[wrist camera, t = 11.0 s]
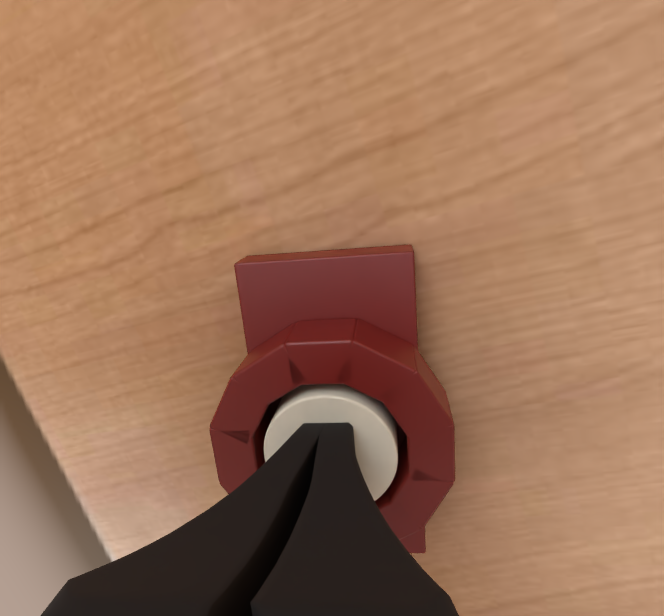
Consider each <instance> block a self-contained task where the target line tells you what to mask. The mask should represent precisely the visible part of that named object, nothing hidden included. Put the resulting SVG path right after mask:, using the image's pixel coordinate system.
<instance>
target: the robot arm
mask: <svg viewBox="0 0 664 616" xmlns="http://www.w3.org/2000/svg"><path fill="white" fill-rule="evenodd" d="M41 616H459V615H458V613H457V611H456V609H455V607H454V604H453V602H452V600H451V598H450V596H449V595H448V594H447V593H446V592H445V591H444V590H443V589H442V588H441V587H440V586H439V585H438V584H437V583H436V582H435V581H434V580H433V579H432V578H431V577H430V576H429V575H428V574H427V573H426V572H425V571H424V570H423V569H422V567H421V566H420V565H419V564H418V563H417V562H416V561H415V559H414V558H413V557H412V556H411V555H410V554H409V552H408V551H407V549H406V548H405V547H404V545H403V544H402V543H401V541H400V540H399V539H398V537H397V536H396V535H395V533H394V532H393V531H392V529H391V528H390V526H389V525H388V523H387V521H386V520H385V518H384V517H383V515H382V513H381V512H380V510H379V508H378V506H377V505H376V503H375V501H374V499H373V497H372V495H371V493H370V491H369V489H368V486H367V484H366V482H365V480H364V477H363V475H362V472H361V470H360V467H359V464H358V461H357V458H356V453H355V441H354V430H353V426H352V425H351V424H350V423H349V422H342V423H303V424H302V425H301V426H300V427H299V428H298V429H297V430H296V431H295V432H294V433H293V434H292V435H291V436H290V438H289V439H288V440H287V441H286V442H285V443H284V444H283V445H282V446H281V447H280V448H279V449H278V450H277V451H276V452H275V453H274V454H273V455H272V456H271V457H270V458H269V459H268V460H267V461H266V462H265V463H264V464H263V465H262V466H261V467H260V468H259V469H258V470H257V471H256V472H254V473H253V474H252V475H251V476H250V477H249V478H248V479H247V480H246V481H244V482H243V483H242V484H241V485H240V486H239V487H237V488H236V489H235V490H234V491H232V492H231V493H230V494H229V495H227V496H226V497H225V498H223V499H222V500H221V501H219V502H218V503H216V504H215V505H214V506H212V507H211V508H210V509H208V510H207V511H205V512H204V513H202V514H200V515H199V516H197V517H196V518H194V519H192V520H191V521H189V522H188V523H186V524H184V525H183V526H181V527H180V528H178V529H176V530H175V531H173V532H171V533H170V534H168V535H166V536H164V537H162V538H160V539H159V540H157V541H155V542H153V543H151V544H149V545H147V546H145V547H143V548H141V549H139V550H137V551H135V552H133V553H131V554H129V555H127V556H125V557H122V558H120V559H118V560H116V561H113V562H111V563H109V564H106V565H104V566H101V567H99V568H97V569H94V570H92V571H90V572H87V573H85V574H82V575H80V576H77V577H75V578H72V579H70V580H68V581H67V583H66V584H65V585H64V586H63V587H62V589H61V590H60V591H59V593H58V594H57V595H56V596H55V598H54V599H53V601H52V602H51V603H50V604H49V606H48V607H47V608H46V610H45V611H44V612H43V613H42V615H41Z"/></svg>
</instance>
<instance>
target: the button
mask: <svg viewBox="0 0 664 616" xmlns="http://www.w3.org/2000/svg"><path fill="white" fill-rule="evenodd" d="M342 422H349V423H350V424H351V425H352V426H353V430H354V441H355V453H356V458H357V461H358V464H359V467H360V470H361V472H362V475H363V477H364V480H365V482H366V484H367V486H368V489H369V491H370V493H371V495H372V497H373V499H374V501H375V500H377V499H378V498H379V497H380V496H381V495H382V494H383V493H384V492H385V491H386V490H387V489H388V487H389V486H390V485H391V483H392V481H393V479H394V476H395V474H396V471H397V465H398V440H397V421H396V420H395V418H394V417H393V416H392V414H391V413H390V412H389V410H388V409H387V407H386V406H385V405H384V403H383V402H381V401H379V400H377V399H375V398H372V397H370V396H368V395H366V394H364V393H362V392H360V391H358V390H356V389H354V388H352V387H349V386H347V385H345V384H316V385H300V386H299V387H297V388H295V389H294V390H292V391H290V392H289V393H287V394H285V395H284V396H283V397H282V399H281V401H280V403H279V405H278V407H277V410H276V412H275V414H274V416H273V418H272V420H271V423H270V425H269V427H268V429H267V432H266V435H265V439H264V458H265V462H266V461H267V460H268V459H269V458H270V457H271V456H272V455H273V454H274V453H275V452H276V451H277V450H278V449H279V448H280V447H281V446H282V445H283V444H284V443H285V442H286V441H287V440H288V439H289V438H290V436H291V435H292V434H293V433H294V432H295V431H296V430H297V429H298V428H299V427H300V426H301V425H302V424H303V423H342Z"/></svg>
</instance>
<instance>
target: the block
mask: <svg viewBox="0 0 664 616" xmlns="http://www.w3.org/2000/svg"><path fill="white" fill-rule="evenodd" d="M234 267H235V273H236V280H237V286H238V293H239V299H240V306H241V312H242V319H243V326H244V332H245V339H246V345H247V352H248V355H247V357H246V358H245V359H244V360H243V362H242V363H241V364H240V366H239V367H238V368H237V370H236V371H235V372H234V374H233V375H232V376H231V378H230V380H229V382H228V385H227V387H226V389H225V392H224V394H223V396H222V398H221V401H220V403H219V405H218V408H217V410H216V412H215V415H214V417H213V419H212V422H211V424H210V435H211V441H212V446H213V451H214V457H215V462H216V467H217V472H218V478H219V481H220V484H221V486H222V487H223V488H224V489H225V490H226V491H227V493H228V494H230V493H231V492H232V491H234V490H235V489H236V488H237V487H239V486H240V485H241V484H242V483H243V482H244V481H246V480H247V479H248V478H249V477H250V476H251V475H252V474H253V473H254V472H256V471H257V470H258V469H259V468H260V467H261V466H262V465H263V464H264V463H265V458H264V439H265V435H266V432H267V429H268V427H269V425H270V423H271V420H272V418H273V416H274V414H275V412H276V410H277V407H278V405H279V403H280V401H281V399H282V397H283V396H284V395H285V394H287V393H289V392H290V391H292V390H294V389H295V388H297V387H299V386H300V385H316V384H345V385H347V386H349V387H352V388H354V389H356V390H358V391H360V392H362V393H364V394H366V395H368V396H370V397H372V398H375V399H377V400H379V401H381V402H383V403H384V405H385V406H386V407H387V409H388V410H389V412H390V413H391V414H392V416H393V417H394V418H395V420H396V421H397V440H398V465H397V471H396V474H395V476H394V479H393V481H392V483H391V485H390V486H389V487H388V489H387V490H386V491H385V492H384V493H383V494H382V495H381V496H380V497H379V498H378V499H377V500H375V503H376V505H377V506H378V508H379V510H380V512H381V513H382V515H383V517H384V518H385V520H386V521H387V523H388V525H389V526H390V528H391V529H392V531H393V532H394V533H395V535H396V536H397V537H398V539H399V540H400V541H401V543H402V544H403V545H404V547H405V548H406V549H407V551H408V552H409V553H425V552H426V546H425V525H426V523H427V522H428V520H429V519H430V518H431V516H432V515H433V513H434V512H435V510H436V509H437V507H438V506H439V504H440V503H441V501H442V500H443V499H444V497H445V496H446V494H447V493H448V491H449V490H450V488H451V487H452V485H453V483H454V481H455V440H454V423H453V419H452V415H451V411H450V407H449V403H448V399H447V395H446V392H445V390H444V388H443V387H442V385H441V384H440V382H439V381H438V379H437V378H436V377H435V375H434V374H433V372H432V371H431V369H430V368H429V366H428V365H427V363H426V362H425V361H424V359H423V358H422V356H421V355H420V353H419V352H418V339H417V313H416V288H415V262H414V251H413V248H412V245H398V246H383V247H369V248H355V249H340V250H326V251H312V252H297V253H283V254H269V255H254V256H246V257H245V258H243V259H242V260H240V261H238V262H237V263H235V265H234Z"/></svg>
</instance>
